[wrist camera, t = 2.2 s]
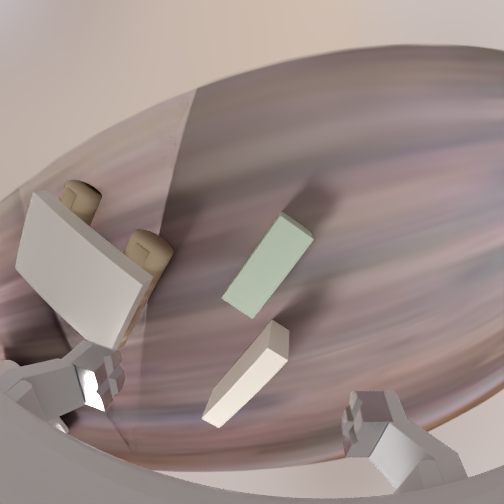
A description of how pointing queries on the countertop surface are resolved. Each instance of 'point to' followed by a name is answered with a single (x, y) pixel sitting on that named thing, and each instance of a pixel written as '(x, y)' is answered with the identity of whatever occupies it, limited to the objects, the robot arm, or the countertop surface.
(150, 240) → the rail
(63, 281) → the stone slab
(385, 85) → the countertop surface
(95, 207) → the rail
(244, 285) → the block
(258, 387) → the block
